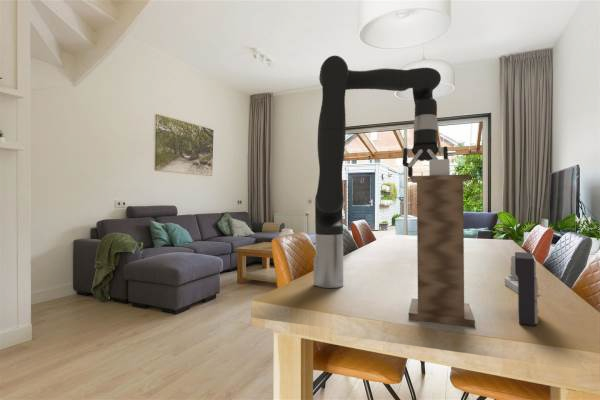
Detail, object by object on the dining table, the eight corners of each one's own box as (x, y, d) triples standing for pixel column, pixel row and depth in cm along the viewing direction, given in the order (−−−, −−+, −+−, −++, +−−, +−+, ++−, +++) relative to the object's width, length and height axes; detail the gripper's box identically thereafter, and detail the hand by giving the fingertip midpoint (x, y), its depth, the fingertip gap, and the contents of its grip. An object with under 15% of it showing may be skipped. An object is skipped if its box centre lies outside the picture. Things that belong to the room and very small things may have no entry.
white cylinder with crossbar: (430, 180, 101) (430, 168, 101) (446, 180, 99) (446, 167, 99) (429, 175, 81) (429, 159, 81) (449, 175, 80) (449, 158, 80)
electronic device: (519, 264, 101) (502, 254, 115) (519, 296, 101) (502, 283, 116) (540, 264, 100) (520, 255, 114) (539, 298, 100) (519, 284, 114)
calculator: (539, 327, 75) (538, 259, 75) (515, 323, 77) (515, 257, 77) (536, 313, 84) (535, 252, 84) (515, 310, 86) (514, 251, 87)
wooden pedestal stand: (408, 319, 80) (407, 175, 81) (412, 303, 93) (411, 179, 93) (474, 326, 75) (473, 173, 75) (468, 309, 88) (467, 177, 88)
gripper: (402, 129, 113) (401, 177, 113) (448, 126, 108) (448, 177, 107) (404, 134, 120) (403, 179, 120) (448, 131, 115) (447, 179, 114)
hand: (424, 178), depth 114 cm, fingers open, 8 cm apart
